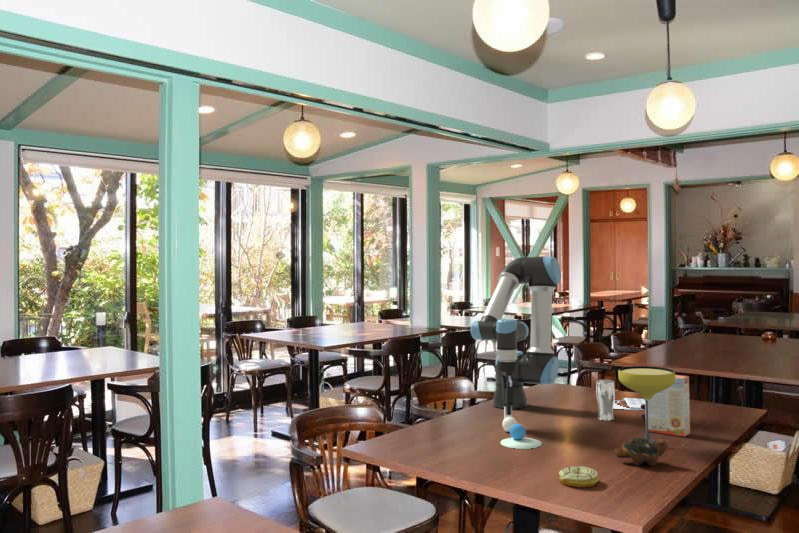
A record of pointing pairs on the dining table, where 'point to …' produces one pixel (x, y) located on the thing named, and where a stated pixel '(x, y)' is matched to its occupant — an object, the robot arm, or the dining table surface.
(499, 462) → the dining table surface
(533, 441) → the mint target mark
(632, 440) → the decorative turtle
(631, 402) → the snack bag
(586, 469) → the decorated donut
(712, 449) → the dining table surface
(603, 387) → the beer glass
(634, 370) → the cocktail glass
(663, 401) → the cracker box
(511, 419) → the white cue ball
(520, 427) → the blue object ball
